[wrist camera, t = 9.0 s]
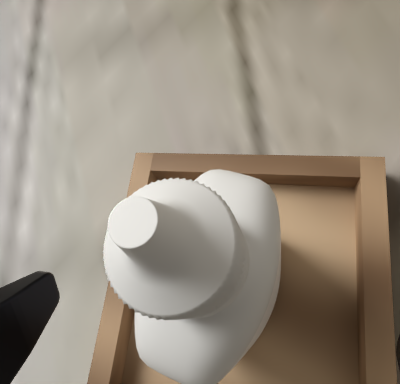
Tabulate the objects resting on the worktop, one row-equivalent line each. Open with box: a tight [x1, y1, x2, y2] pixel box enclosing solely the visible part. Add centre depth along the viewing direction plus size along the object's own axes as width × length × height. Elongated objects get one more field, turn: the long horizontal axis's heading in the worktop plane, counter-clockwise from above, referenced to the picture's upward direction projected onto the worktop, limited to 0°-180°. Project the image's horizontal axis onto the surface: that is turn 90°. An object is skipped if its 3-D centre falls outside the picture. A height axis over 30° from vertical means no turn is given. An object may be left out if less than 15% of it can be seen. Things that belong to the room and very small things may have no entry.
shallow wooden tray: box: [87, 153, 397, 384], centre depth 15 cm, size 12×12×2 cm
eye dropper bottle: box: [103, 169, 281, 384], centre depth 10 cm, size 4×6×12 cm
